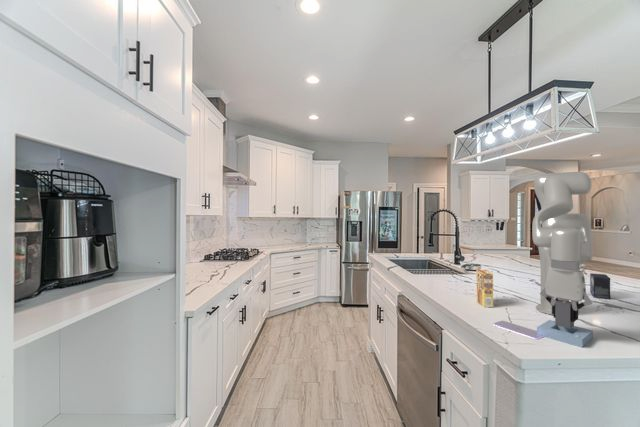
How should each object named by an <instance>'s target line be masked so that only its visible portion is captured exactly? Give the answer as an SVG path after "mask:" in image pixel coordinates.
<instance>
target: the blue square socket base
mask: <svg viewBox="0 0 640 427" xmlns="http://www.w3.org/2000/svg"><path fill="white" fill-rule="evenodd" d="M536 331H537V333H538V334H542V335H544V336H545V338H548V339H552V340H555V341H558V342H562V343H566V344H569V345H573V346H576V347H579V348H584V347H585V346H586V345H587V344H588V343H589V342H590V341H591V340H593V338H594V330H592V329H589V328H584V327H580V326H577V325H574V326H573V327H572V328H566V327H562V326H558V325H555V320H552V319H548V320H547V321H545V322H543V323H541V324H540V325H538V326H536Z"/></svg>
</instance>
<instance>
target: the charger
mask: <svg viewBox="0 0 640 427" xmlns="http://www.w3.org/2000/svg"><path fill="white" fill-rule="evenodd" d="M571 310H572V303H571V301H570V300H569V301H564V300H557V301H555V318H554V321H555V325H558V326H562V327H566V328H572V327H573V326H575V322H571Z"/></svg>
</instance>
